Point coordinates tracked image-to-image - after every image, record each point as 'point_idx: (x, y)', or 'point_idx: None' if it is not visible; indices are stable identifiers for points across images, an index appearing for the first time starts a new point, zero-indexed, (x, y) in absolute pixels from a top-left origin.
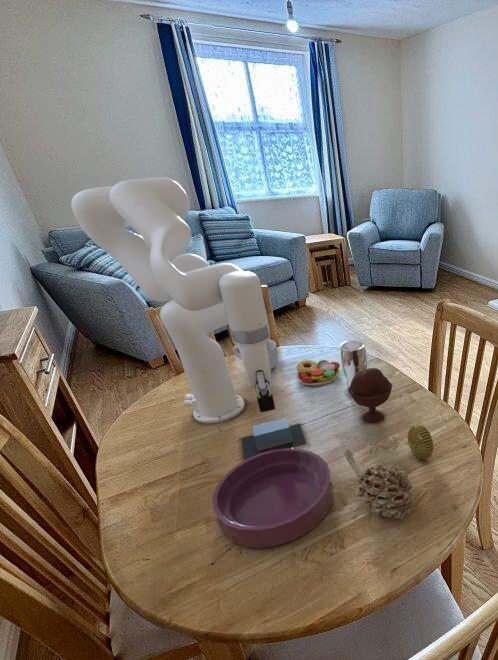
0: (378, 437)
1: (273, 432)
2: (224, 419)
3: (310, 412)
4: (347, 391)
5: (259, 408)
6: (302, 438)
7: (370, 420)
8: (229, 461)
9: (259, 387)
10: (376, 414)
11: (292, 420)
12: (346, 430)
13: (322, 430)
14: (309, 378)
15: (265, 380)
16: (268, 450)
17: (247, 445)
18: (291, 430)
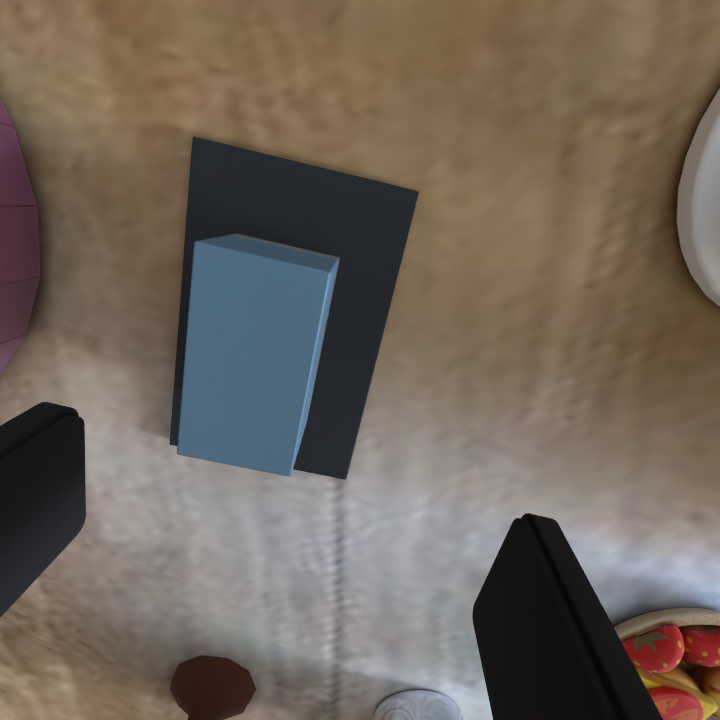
0: (82, 645)
1: (185, 362)
2: (692, 159)
3: (410, 542)
4: (430, 708)
5: (7, 423)
6: None
7: (181, 677)
8: (249, 59)
9: (513, 561)
10: (187, 713)
11: (404, 462)
12: (186, 590)
13: (241, 527)
14: (647, 668)
15: (503, 705)
16: None
17: (324, 201)
18: (313, 431)
